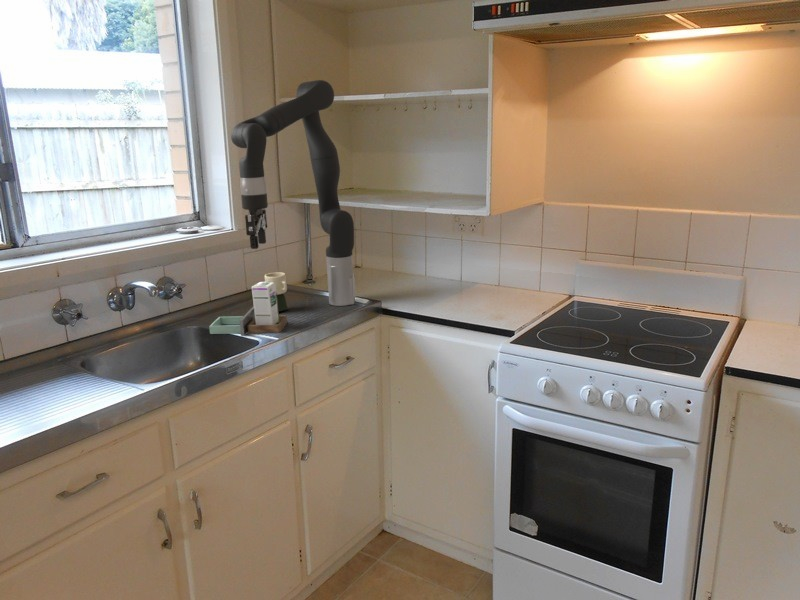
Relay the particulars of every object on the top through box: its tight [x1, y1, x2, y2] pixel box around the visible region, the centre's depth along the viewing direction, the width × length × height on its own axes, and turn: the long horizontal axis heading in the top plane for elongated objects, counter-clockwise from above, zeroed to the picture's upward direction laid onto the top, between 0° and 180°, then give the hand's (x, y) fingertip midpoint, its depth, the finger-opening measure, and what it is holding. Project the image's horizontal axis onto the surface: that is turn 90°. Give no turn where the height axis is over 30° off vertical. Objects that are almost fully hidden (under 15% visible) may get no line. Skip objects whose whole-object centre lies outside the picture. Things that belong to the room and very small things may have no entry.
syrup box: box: [251, 281, 280, 325], centre depth 196 cm, size 6×6×14 cm
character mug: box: [264, 271, 288, 313], centre depth 214 cm, size 11×7×13 cm, turn 50°
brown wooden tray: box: [247, 315, 288, 334], centre depth 198 cm, size 10×10×2 cm
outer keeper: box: [208, 315, 244, 335], centre depth 198 cm, size 10×10×2 cm
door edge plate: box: [239, 306, 255, 337], centre depth 198 cm, size 1×15×5 cm, turn 177°
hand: (258, 245), depth 192 cm, fingers open, 8 cm apart
